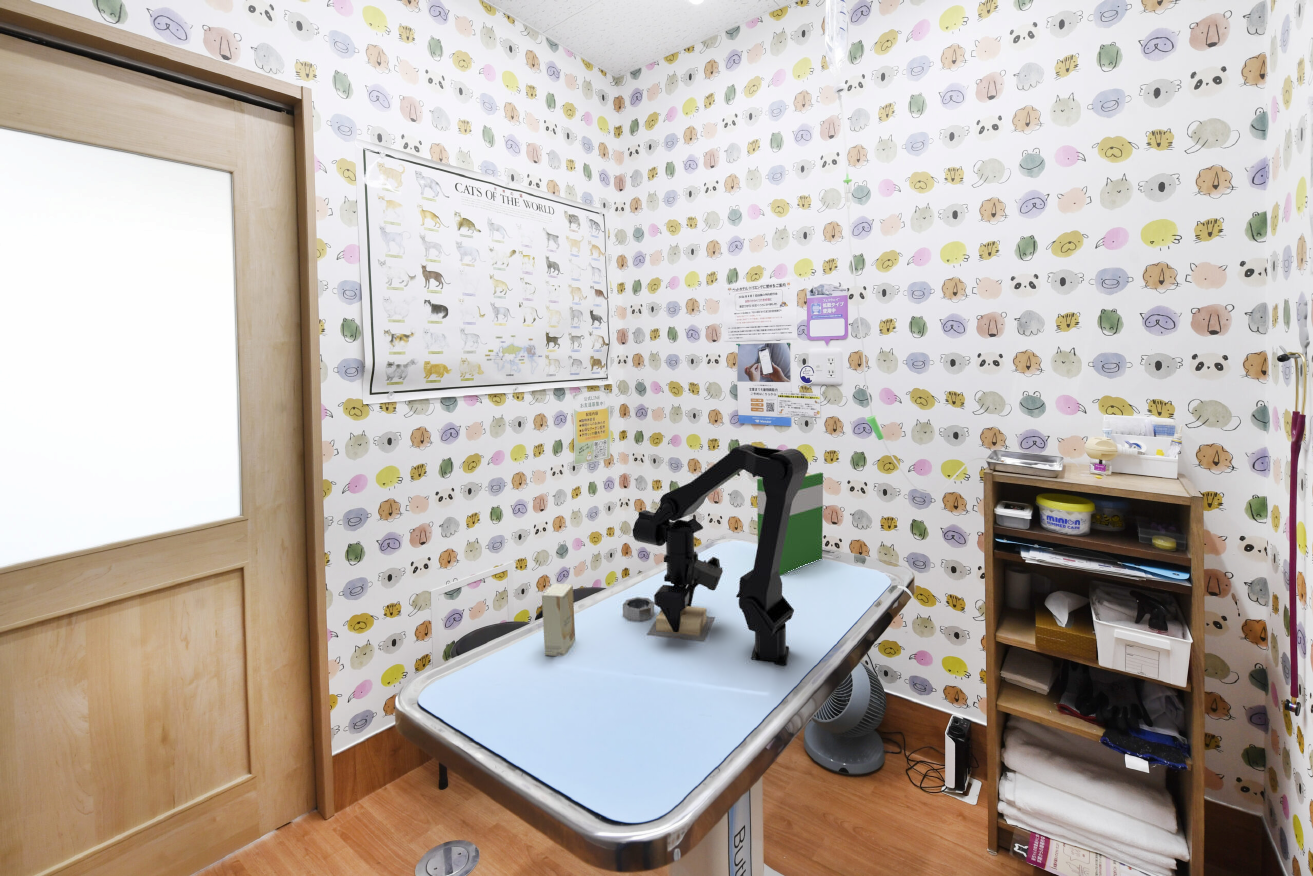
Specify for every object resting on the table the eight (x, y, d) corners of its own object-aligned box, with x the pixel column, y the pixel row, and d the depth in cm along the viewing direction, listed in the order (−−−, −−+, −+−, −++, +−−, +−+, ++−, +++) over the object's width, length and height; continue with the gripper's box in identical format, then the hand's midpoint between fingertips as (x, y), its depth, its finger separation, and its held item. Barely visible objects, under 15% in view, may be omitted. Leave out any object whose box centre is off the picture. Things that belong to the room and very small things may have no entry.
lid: (699, 635, 118) (698, 620, 118) (656, 631, 121) (655, 615, 121) (706, 620, 125) (706, 605, 125) (665, 616, 128) (665, 601, 127)
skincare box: (565, 657, 113) (562, 596, 111) (544, 656, 113) (540, 595, 112) (576, 641, 119) (573, 583, 117) (556, 640, 120) (552, 582, 118)
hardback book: (800, 552, 167) (800, 469, 163) (822, 559, 161) (823, 473, 157) (757, 568, 156) (757, 479, 152) (779, 575, 150) (779, 483, 147)
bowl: (648, 624, 125) (647, 611, 125) (620, 621, 127) (619, 608, 127) (657, 611, 131) (656, 599, 131) (629, 609, 133) (629, 596, 133)
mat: (704, 643, 116) (704, 641, 116) (646, 637, 120) (646, 634, 120) (715, 619, 127) (715, 617, 127) (661, 613, 130) (661, 611, 130)
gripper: (709, 569, 110) (710, 648, 112) (727, 538, 127) (728, 606, 129) (652, 564, 113) (654, 641, 115) (677, 535, 130) (678, 602, 133)
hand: (681, 621), depth 123 cm, fingers open, 9 cm apart
